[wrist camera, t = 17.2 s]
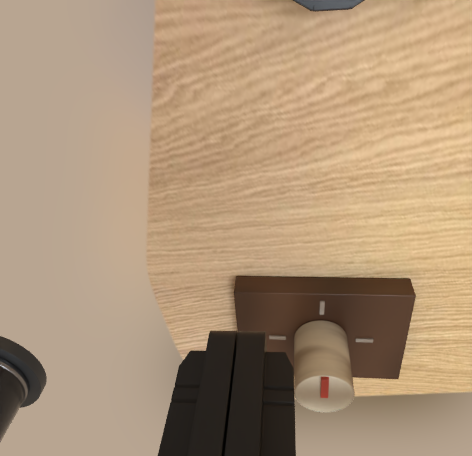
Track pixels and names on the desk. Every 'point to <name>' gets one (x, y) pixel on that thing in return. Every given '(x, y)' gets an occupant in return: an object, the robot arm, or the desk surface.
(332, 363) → the dial
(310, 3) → the button box
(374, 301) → the dial panel
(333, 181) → the desk surface
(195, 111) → the desk surface
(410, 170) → the desk surface
